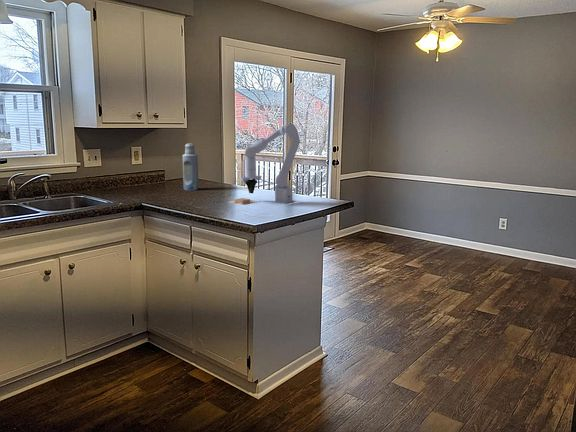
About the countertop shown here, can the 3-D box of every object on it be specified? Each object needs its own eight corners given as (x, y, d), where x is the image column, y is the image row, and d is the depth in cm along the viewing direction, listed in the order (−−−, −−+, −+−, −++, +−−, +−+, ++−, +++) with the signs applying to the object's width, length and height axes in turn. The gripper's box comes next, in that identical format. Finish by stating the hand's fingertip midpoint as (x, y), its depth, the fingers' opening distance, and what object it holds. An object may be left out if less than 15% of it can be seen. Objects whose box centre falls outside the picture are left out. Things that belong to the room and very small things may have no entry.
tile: (250, 199, 270) (242, 200, 265) (250, 202, 270) (242, 203, 266) (242, 198, 274) (234, 199, 269) (242, 201, 274) (234, 202, 269)
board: (260, 203, 272) (260, 201, 272) (244, 206, 263) (244, 204, 262) (243, 200, 281) (243, 198, 281) (226, 203, 271) (226, 201, 271)
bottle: (180, 190, 319) (178, 143, 313) (188, 188, 328) (186, 143, 322) (194, 190, 316) (192, 144, 310) (201, 188, 325) (199, 143, 319)
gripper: (254, 167, 279) (255, 190, 282) (236, 169, 268) (236, 193, 271) (263, 168, 275) (264, 192, 278) (245, 170, 264) (245, 195, 267)
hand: (251, 193), depth 274 cm, fingers closed
